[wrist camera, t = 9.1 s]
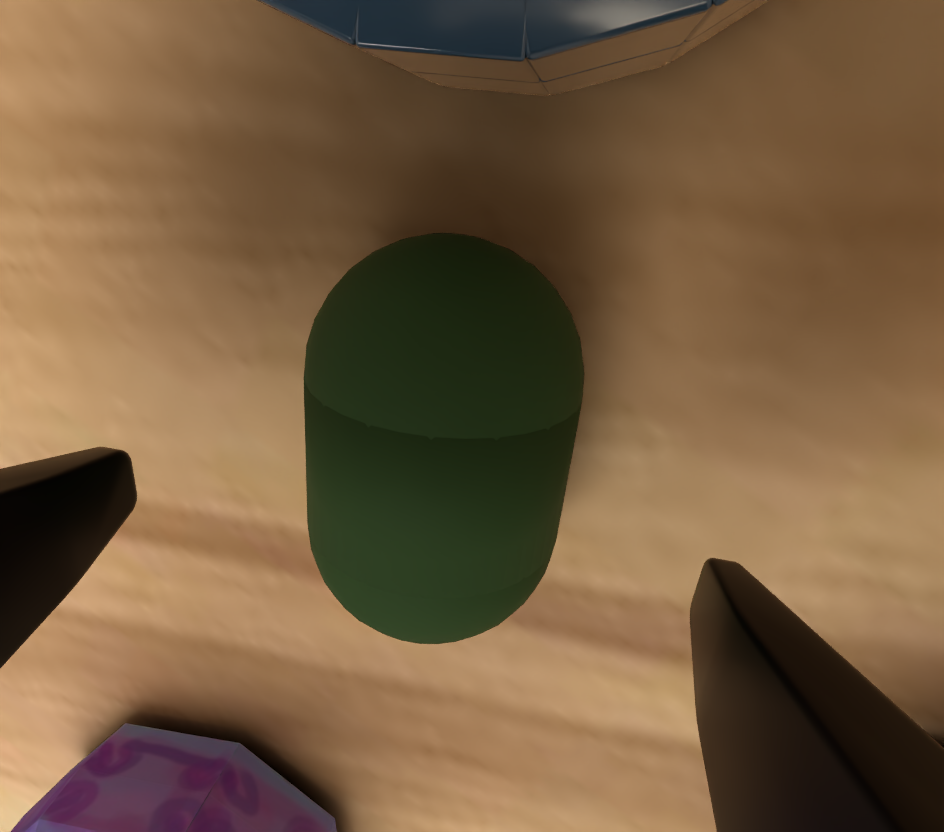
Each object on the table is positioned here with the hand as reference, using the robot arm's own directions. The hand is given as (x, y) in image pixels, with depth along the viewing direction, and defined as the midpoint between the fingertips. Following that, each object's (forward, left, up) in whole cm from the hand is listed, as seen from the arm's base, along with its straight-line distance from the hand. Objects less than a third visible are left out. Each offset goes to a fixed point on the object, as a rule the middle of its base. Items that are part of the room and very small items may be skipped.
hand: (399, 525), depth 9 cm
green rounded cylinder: (0, 0, -5) cm, 5 cm away
